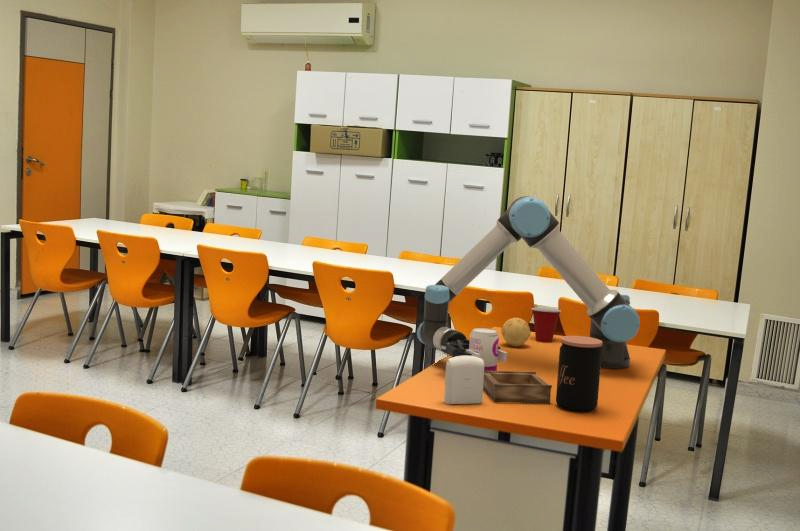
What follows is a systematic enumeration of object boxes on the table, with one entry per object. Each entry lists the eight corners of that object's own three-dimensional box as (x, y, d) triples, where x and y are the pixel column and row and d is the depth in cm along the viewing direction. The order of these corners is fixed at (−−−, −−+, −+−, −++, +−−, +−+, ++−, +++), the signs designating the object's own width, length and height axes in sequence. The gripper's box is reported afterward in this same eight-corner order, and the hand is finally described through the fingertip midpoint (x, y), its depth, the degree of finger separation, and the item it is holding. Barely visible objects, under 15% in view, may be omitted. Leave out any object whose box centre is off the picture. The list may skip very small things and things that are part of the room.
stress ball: (506, 345, 307) (491, 328, 302) (525, 324, 308) (510, 308, 303) (521, 355, 298) (505, 338, 293) (540, 334, 299) (525, 317, 294)
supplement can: (498, 380, 249) (501, 329, 248) (491, 387, 242) (495, 334, 240) (471, 377, 252) (474, 326, 250) (463, 383, 244) (467, 331, 242)
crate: (534, 388, 242) (535, 371, 242) (550, 403, 227) (552, 385, 227) (480, 387, 240) (481, 370, 240) (493, 402, 225) (494, 384, 225)
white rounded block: (446, 405, 220) (449, 357, 219) (441, 400, 224) (444, 354, 223) (484, 404, 223) (487, 357, 222) (478, 400, 227) (482, 354, 226)
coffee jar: (550, 401, 230) (555, 334, 228) (589, 402, 231) (595, 336, 229) (561, 412, 219) (567, 343, 217) (602, 414, 220) (608, 344, 218)
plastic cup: (557, 339, 319) (560, 307, 318) (560, 344, 308) (562, 311, 307) (528, 336, 320) (530, 304, 319) (529, 342, 309) (532, 309, 308)
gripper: (478, 352, 267) (522, 369, 247) (419, 355, 257) (459, 373, 237) (480, 328, 266) (524, 343, 246) (421, 330, 256) (461, 346, 236)
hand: (492, 358), depth 242 cm, fingers closed on supplement can, 8 cm apart
